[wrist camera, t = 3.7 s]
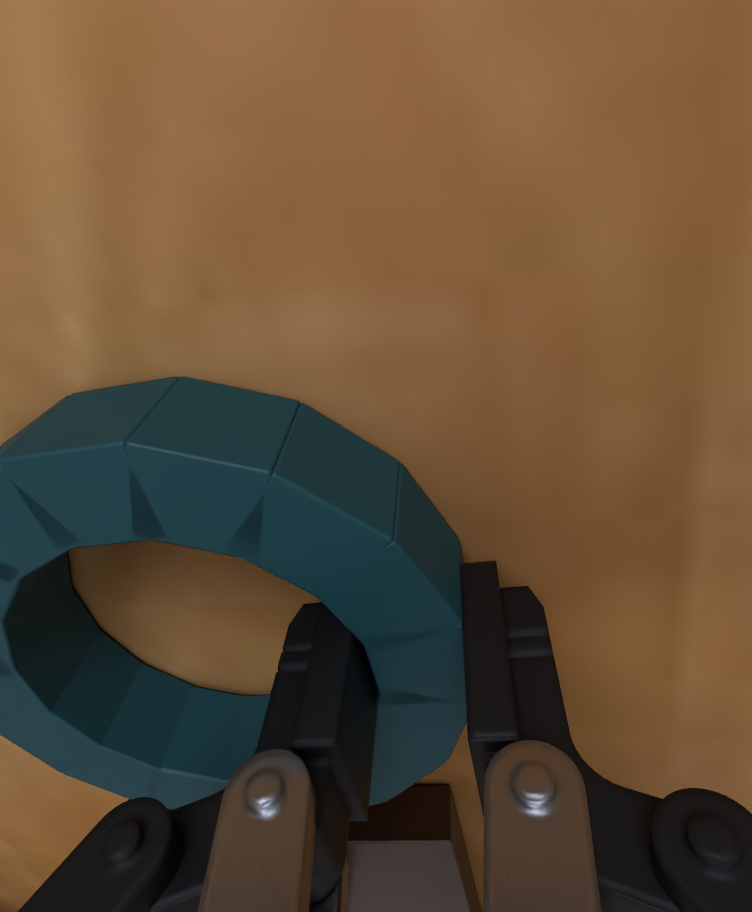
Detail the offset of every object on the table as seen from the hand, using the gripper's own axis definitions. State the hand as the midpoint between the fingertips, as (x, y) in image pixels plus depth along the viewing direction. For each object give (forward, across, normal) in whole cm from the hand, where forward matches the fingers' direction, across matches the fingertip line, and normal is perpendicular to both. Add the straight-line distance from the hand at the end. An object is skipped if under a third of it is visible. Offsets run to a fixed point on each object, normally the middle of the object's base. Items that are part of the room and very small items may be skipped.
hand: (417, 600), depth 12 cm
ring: (+1, +4, 0) cm, 4 cm away
